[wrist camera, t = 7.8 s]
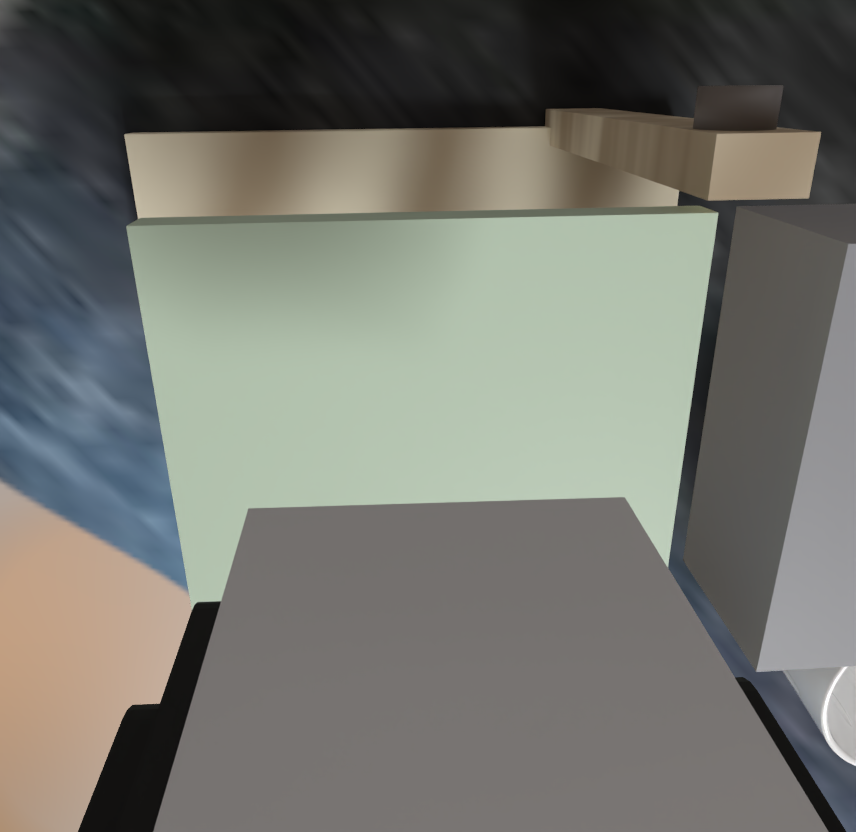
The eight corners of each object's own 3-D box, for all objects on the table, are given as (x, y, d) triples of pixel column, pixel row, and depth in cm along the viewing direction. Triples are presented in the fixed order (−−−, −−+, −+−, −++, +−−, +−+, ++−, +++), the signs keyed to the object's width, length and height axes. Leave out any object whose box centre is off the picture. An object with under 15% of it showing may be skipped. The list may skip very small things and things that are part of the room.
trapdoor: (926, 182, 20) (1094, 212, 15) (831, 565, 24) (936, 676, 20) (174, 197, 18) (110, 235, 14) (231, 595, 23) (197, 719, 19)
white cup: (683, 591, 37) (784, 757, 28) (752, 453, 34) (891, 588, 25) (821, 620, 38) (961, 786, 29) (899, 489, 36) (1082, 629, 26)
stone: (624, 497, 10) (832, 837, 6) (590, 766, 12) (721, 1178, 8) (248, 508, 10) (138, 879, 5) (278, 783, 12) (217, 1225, 7)
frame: (681, 83, 28) (987, 83, 14) (634, 484, 34) (809, 749, 21) (125, 90, 26) (-139, 97, 13) (191, 503, 33) (66, 797, 20)
